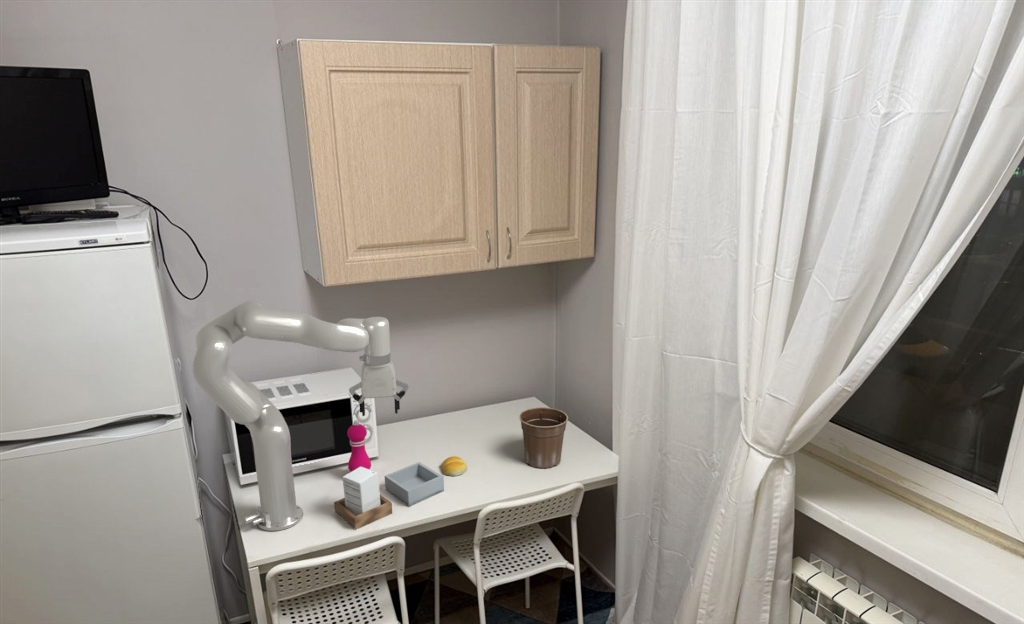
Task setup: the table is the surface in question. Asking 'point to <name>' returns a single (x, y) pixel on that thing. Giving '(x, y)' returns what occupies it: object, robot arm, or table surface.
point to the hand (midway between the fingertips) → (380, 413)
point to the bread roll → (454, 466)
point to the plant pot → (543, 435)
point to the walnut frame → (364, 517)
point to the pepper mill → (358, 447)
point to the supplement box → (361, 490)
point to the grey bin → (414, 483)
